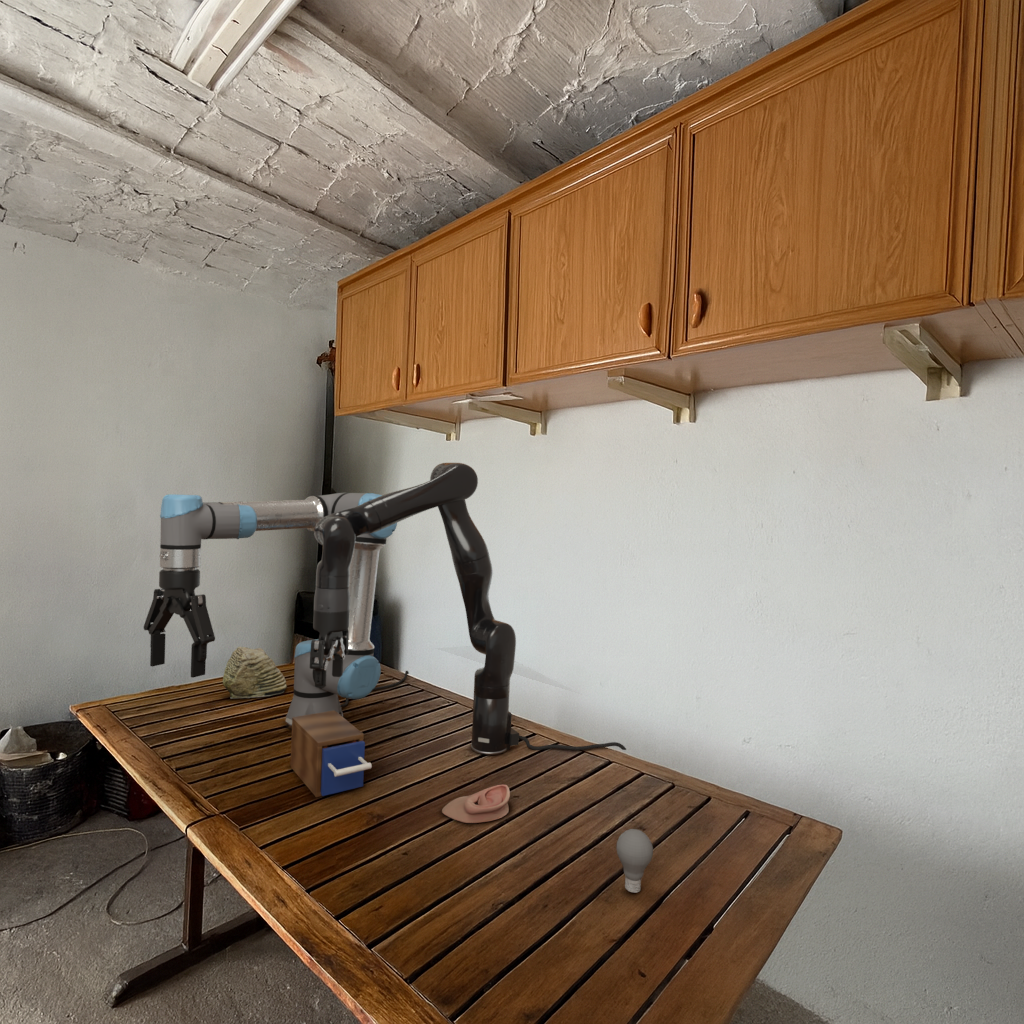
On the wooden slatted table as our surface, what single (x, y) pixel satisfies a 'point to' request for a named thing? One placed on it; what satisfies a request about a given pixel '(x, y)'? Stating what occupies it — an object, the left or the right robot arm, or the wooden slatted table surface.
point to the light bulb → (634, 857)
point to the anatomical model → (480, 805)
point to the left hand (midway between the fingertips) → (177, 670)
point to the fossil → (252, 674)
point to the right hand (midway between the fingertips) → (329, 681)
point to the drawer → (343, 767)
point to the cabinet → (317, 743)
